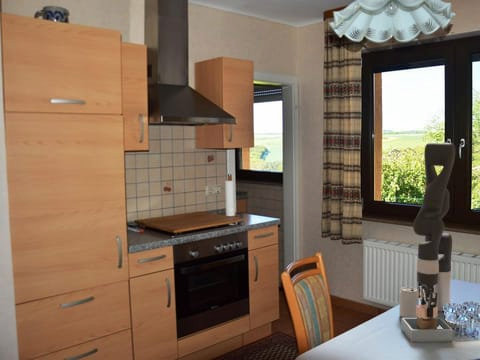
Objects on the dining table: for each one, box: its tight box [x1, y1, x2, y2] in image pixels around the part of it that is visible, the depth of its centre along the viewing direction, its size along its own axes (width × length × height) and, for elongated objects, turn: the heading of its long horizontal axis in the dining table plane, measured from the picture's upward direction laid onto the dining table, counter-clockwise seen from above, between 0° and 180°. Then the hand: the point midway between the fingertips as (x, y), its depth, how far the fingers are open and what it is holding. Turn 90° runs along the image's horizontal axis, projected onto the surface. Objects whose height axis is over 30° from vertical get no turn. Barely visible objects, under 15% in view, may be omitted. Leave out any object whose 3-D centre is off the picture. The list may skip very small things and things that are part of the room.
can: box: [399, 286, 420, 318], centre depth 201 cm, size 8×8×12 cm
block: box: [417, 316, 437, 330], centre depth 182 cm, size 6×6×6 cm
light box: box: [416, 304, 439, 319], centre depth 181 cm, size 4×6×4 cm
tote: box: [401, 317, 454, 343], centre depth 182 cm, size 12×15×4 cm
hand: (426, 314), depth 181 cm, fingers closed on light box, 5 cm apart
